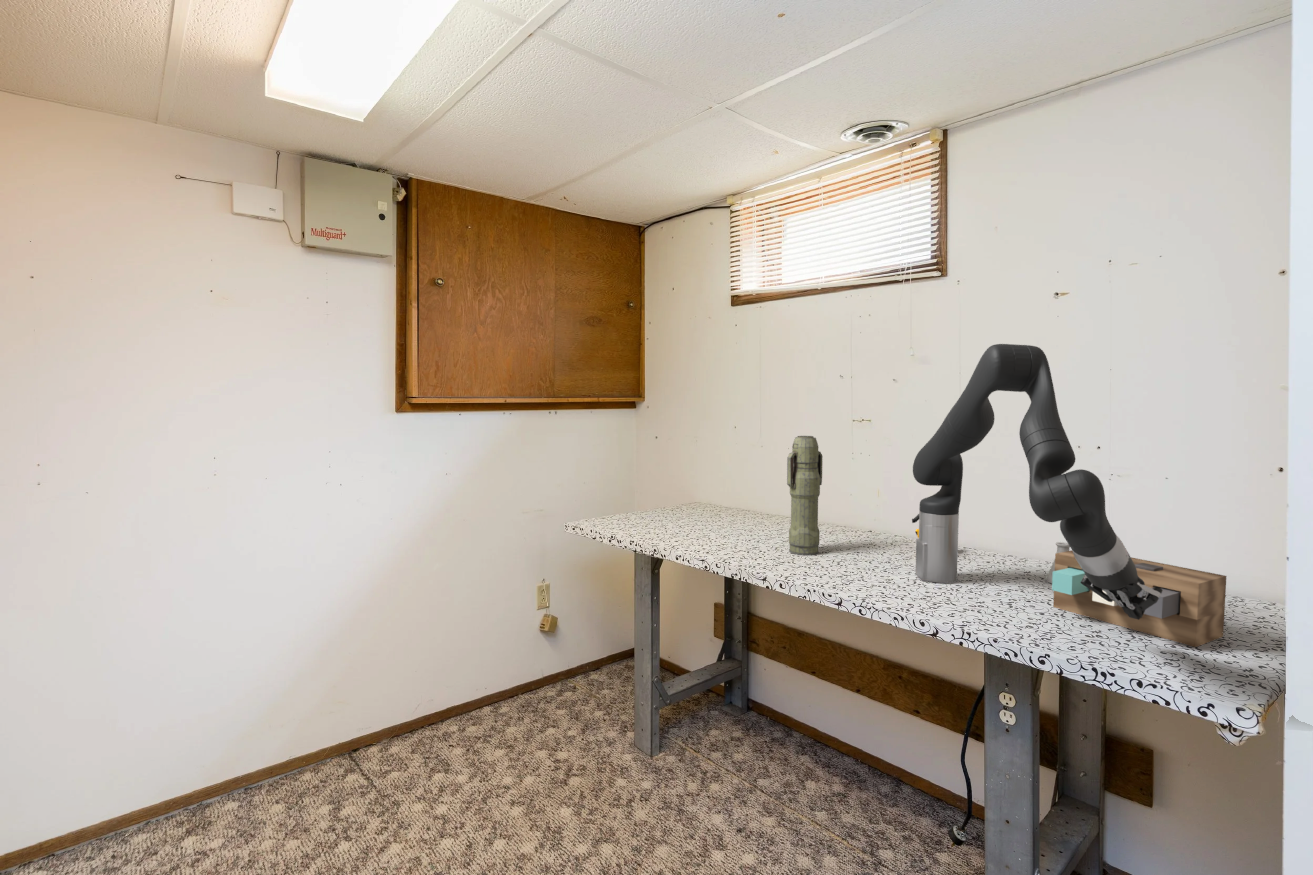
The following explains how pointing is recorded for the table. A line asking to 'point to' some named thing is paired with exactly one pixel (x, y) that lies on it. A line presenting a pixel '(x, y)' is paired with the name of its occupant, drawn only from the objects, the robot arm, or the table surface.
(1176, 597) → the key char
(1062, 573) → the key teal
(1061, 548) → the flask
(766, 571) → the table surface
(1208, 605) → the block
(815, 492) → the thermos
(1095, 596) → the key ivory
